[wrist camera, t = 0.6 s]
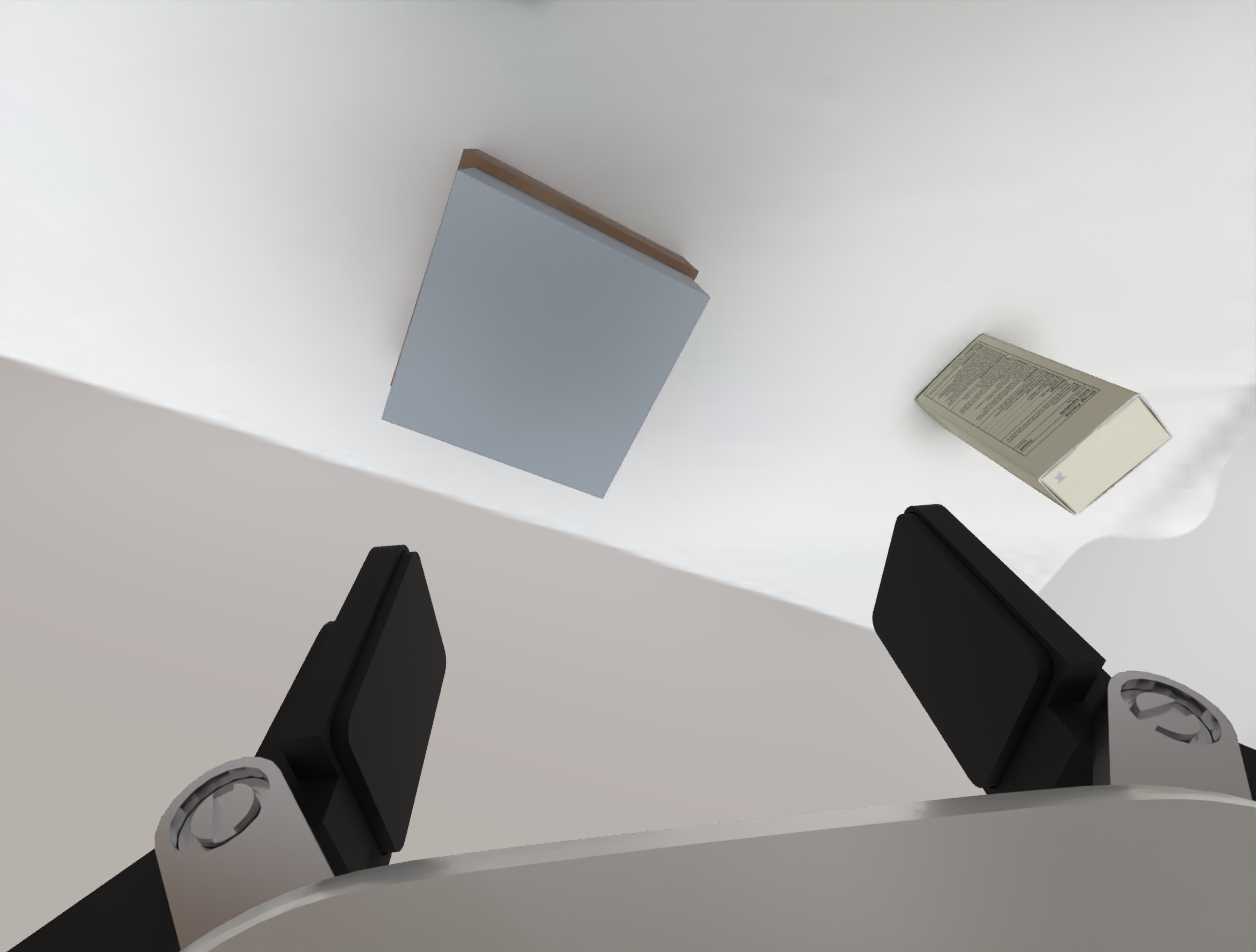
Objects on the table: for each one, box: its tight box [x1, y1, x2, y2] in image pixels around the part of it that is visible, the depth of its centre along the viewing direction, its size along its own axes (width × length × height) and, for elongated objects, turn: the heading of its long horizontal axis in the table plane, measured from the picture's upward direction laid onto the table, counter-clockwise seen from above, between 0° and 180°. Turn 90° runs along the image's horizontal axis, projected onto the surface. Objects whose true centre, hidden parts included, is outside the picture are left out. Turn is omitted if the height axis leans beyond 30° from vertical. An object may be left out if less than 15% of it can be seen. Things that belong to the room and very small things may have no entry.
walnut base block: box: [390, 149, 699, 386], centre depth 34 cm, size 13×13×5 cm
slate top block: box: [382, 167, 710, 499], centre depth 29 cm, size 12×12×5 cm
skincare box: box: [916, 334, 1172, 515], centre depth 35 cm, size 6×4×12 cm
